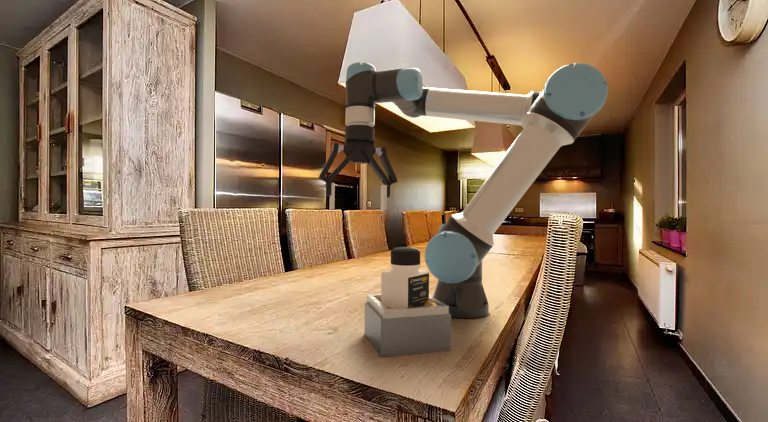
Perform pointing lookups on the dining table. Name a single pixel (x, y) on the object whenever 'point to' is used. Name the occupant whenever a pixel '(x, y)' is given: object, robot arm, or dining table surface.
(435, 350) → the grey box
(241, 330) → the dining table surface
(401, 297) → the medicine bottle
